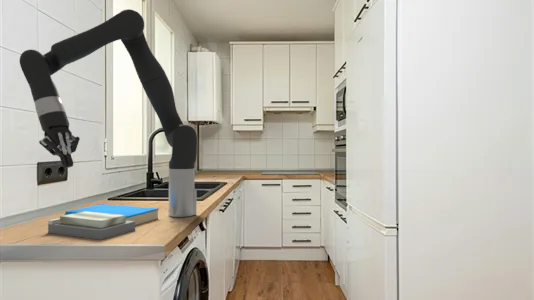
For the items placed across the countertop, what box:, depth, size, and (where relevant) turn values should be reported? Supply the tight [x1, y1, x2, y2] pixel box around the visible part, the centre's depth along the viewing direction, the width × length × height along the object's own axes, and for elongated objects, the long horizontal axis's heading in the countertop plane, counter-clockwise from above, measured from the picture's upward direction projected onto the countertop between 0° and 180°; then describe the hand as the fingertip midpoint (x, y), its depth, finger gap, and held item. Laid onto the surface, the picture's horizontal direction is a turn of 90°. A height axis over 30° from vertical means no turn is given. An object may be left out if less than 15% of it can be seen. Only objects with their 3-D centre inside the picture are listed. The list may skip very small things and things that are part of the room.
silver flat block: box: [59, 211, 126, 228], centre depth 105 cm, size 9×16×2 cm, turn 69°
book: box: [64, 203, 160, 226], centre depth 122 cm, size 17×4×25 cm
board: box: [47, 217, 136, 241], centre depth 105 cm, size 13×20×4 cm, turn 69°
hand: (69, 167), depth 109 cm, fingers closed
